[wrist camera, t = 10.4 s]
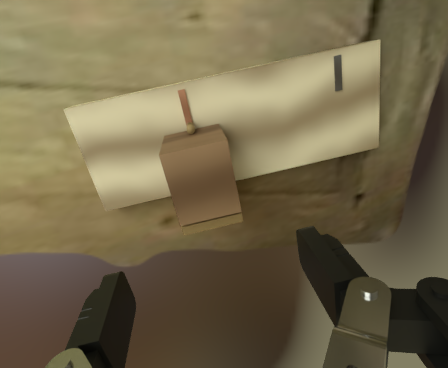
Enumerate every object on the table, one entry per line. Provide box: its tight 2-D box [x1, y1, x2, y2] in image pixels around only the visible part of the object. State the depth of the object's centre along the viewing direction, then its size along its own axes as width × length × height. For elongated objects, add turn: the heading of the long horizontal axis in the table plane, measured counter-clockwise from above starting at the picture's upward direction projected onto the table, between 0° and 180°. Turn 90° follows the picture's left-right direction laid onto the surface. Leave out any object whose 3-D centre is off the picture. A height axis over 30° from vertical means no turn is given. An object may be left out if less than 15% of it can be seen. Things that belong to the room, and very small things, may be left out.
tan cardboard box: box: [159, 122, 243, 236], centre depth 26 cm, size 8×5×7 cm, turn 11°
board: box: [64, 40, 380, 211], centre depth 28 cm, size 10×28×2 cm, turn 101°
